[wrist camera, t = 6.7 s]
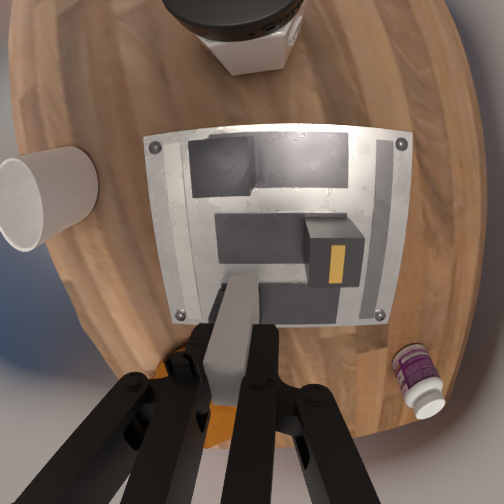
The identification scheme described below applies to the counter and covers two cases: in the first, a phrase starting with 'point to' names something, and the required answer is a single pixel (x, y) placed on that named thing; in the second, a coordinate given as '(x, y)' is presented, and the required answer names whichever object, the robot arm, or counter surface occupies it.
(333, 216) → the panel
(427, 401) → the pill bottle
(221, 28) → the jar
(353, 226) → the handle
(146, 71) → the counter surface
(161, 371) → the bread
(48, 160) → the mug
